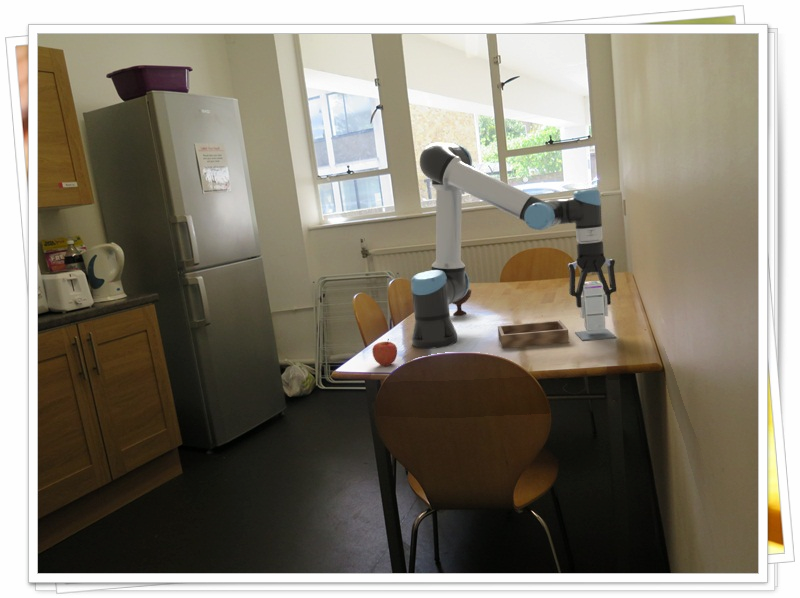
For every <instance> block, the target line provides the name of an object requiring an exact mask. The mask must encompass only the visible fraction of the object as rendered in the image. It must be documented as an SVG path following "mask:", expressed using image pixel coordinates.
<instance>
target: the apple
mask: <svg viewBox="0 0 800 598" xmlns="http://www.w3.org/2000/svg"><path fill="white" fill-rule="evenodd" d="M371 353H372V357H373V359H374V360H375V362H376V363H378V364H379V365H380V366H382V367H388V366H390V365H392V364H393V363H394V362H395V361H396V359H397V356H398V348H397V346H396V344H395V343H393V342H391V341H389V338H388V339H387V341H380V342H377V343H376V344H374V345H373V347H372V352H371ZM391 363H392V364H391Z"/></svg>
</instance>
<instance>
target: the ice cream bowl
mask: <svg viewBox="0 0 800 598" xmlns="http://www.w3.org/2000/svg"><path fill="white" fill-rule="evenodd" d="M471 295H472V289H468V292H467V293H466V295H465V296H464V297H462V298H461V299H460V300H459V301H457V302H453V303H451V305H456V310H455V312H454V313H453V315H452V316H454V317H460V316H465V315H467V312H466V311H464V310H463V308H462V305H463V304H465V303H466V302H468V300H469V299H470V298H471Z"/></svg>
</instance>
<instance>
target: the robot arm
mask: <svg viewBox="0 0 800 598" xmlns="http://www.w3.org/2000/svg"><path fill="white" fill-rule="evenodd" d="M419 166H420V167H419V168H420V170H421V172H422V174H423V175H425V176H426V177H427V178H428V179H430V180H431V186H432V187H433V188H434V189H435V190H436V193H435V197H436V201H435V202H436V203H435V207H436V208H435V210H436V211H435V212H436V214H435V215H436V216H435V218H436V219H435V221H436V222H435V223H436V224H435V230H436V231H435V261H434V262H433V263H431V270H426V271H423V272H419V273H417V274H415V275H413V276H412V277H411V281H410V284H411V285H410V291H411V294H412V295H411V297H412V304H413V305H412V306H413V312H414V326H413V332H412V336H411V342H412V346H414V347H415V348H419V349H420V348H421V349H434V348H433V347H436V348H441V347H442V346H443V347H447V346H451V345H453V344H455V343H457V342H458V334H457V330H456V328H455V327H454V324H453V322H452V319H451V316H450V314H451V313H450V306H449V305H452V303H453V302H457V301H459V300H460V299H461V298H462V297H464V296H465V295H466V293H467V292H468V289H469V288H470V284H471V283H470V278H469V275H468V274H467V272H466V265H465V263H464V262H463V261H462V212H463V211H462V208H463V207H462V205H463V201H462V199H463V198H462V197H463V195H462V194H463V192H465V193H466V194H469V195H471V196H473V197H474V198H476V199H478V200H481V201H483V202H485V203H487V204H489V205H491V206H493V207H494V208H497V209H499V210H500V211H502V212H505V213H508V214H509V215H511V216H513V217H515V218H517V219H519V220H521V221H523V222H525V224H526V225H527V226H528V227H529V228H530V229H532V230H535V231H536V230H539V231H542V230H546V229H548V228H550V227H553V226H556V225H565V224H566V225H567V224H575V233H576V234H575V235H576V236H575V237H576V242H577V244H576V251H577V252H576V254H577V258H576V261H574V262H572V263H570V262H569V263H567V268H568V270H569V293H568V294H569V295H571V296H572V297H575V300H576V301H575V302H576V307H577V308H579V311H580V313H579V314H580V317H581V318H582V319H584V318H585V307H584V297H583V294H582V291H583V285H584V283H585V282H586V279H587V277H588V274H589V273H596V275H597V277H598V281H600V282H601V283H602V284H603V295H604V309H605V317H609V309H608V308H609V306H610V305H611V303H612V302H611V294H612V293H615V292H617V283H616V282H617V281H616V275H615V268H614V267H615V263H616V262H615V261H616V260H615V259H613V258H610V259H609V258H606V256H605V255H604V254H605V253H604V242H603V241H602V240H603V239H604V238H603V237H604V236H603V222H602V221H603V220H602V218H603V217H602V202H601V196H600V194H601V193H600V191H599V189H597V188H592V189H584V190H582V189H581V190H575V191H574V192H573V196H572V197H570V198H562V199H561V198H560V199H551V200H550V199H549V200H542V199H540V198H538V197H535V196H533V195H532V194H529V193H527V192H526V191H523V190H521V189H519V188H517V187H514V186H513V185H511V184H508V183H506V182H504V181H502V180H500V179H498V178H496V177H494V176H492V175H490V174H487V173H485V172H484V171H481V170H479V169H477V168H475V167H473V159H472V156H471V153H470V152H469V151H468V149H467V148H466V147H464V146H463V145H461V144H458V143H452V142H451V143H449V142H434V143H431V144H429V145H427V146H426V147H425V148H424V149H423V150H422V152H421V154H420V157H419ZM604 265H606V266H607V275H608V282H609V286H608V282H607V280H606V278H605V275H604V272H603V269H602V267H604ZM577 266H578V268H580V275H579V279H578V283H577V287H576V269H577ZM608 305H609V306H608ZM450 344H451V345H450ZM443 347H442V348H443Z"/></svg>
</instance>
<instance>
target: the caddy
mask: <svg viewBox="0 0 800 598" xmlns="http://www.w3.org/2000/svg"><path fill="white" fill-rule="evenodd" d="M497 334H498V340H499V343H500V345H501V348H502V349H509V348H520V347H521V348H522V347H533V346H534V347H535V346H544V345H554V344H555V345H557V344H568V343H570V334H569V329H568V327H566V326H565V324H564V323H563V322H562V321H561V320H551V321H541V322H540V321H538V322H529V323H528V322H527V323H516V324H505V325H497Z"/></svg>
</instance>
